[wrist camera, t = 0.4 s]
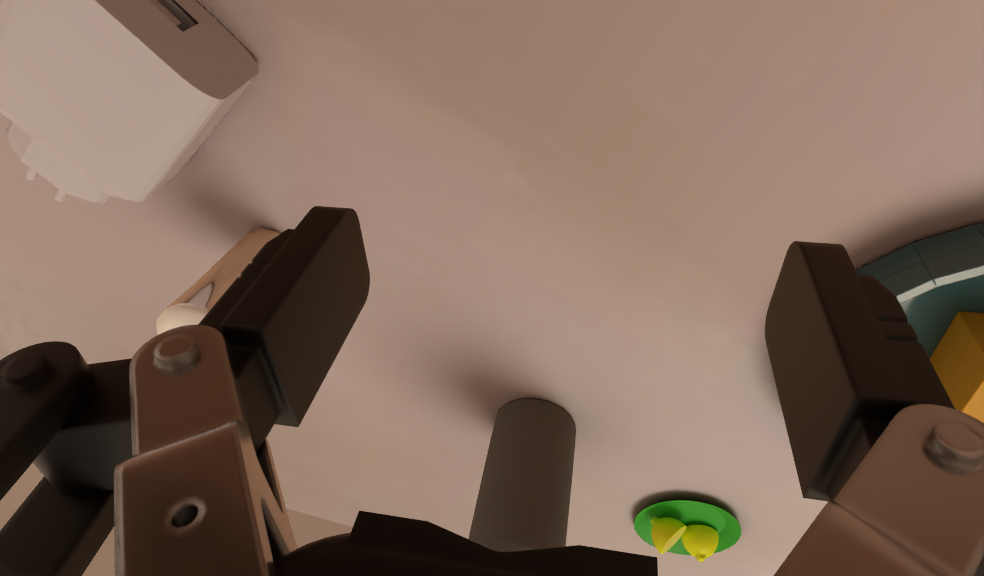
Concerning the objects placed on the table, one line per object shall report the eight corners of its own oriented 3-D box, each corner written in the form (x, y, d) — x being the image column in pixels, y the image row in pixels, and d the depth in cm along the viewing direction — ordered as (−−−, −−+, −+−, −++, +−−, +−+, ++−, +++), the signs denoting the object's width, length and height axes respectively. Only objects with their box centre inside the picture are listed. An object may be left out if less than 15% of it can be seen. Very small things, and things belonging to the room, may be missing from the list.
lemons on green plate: (625, 536, 51) (625, 569, 49) (645, 484, 46) (645, 518, 43) (723, 555, 50) (726, 589, 48) (754, 504, 45) (760, 540, 42)
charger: (-2, 109, 34) (92, -100, 26) (143, 220, 38) (266, 66, 29) (-77, 147, 30) (5, -81, 22) (91, 266, 34) (215, 106, 26)
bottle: (593, 432, 43) (577, 666, 31) (533, 457, 46) (499, 678, 35) (537, 386, 41) (499, 618, 29) (479, 416, 44) (424, 636, 33)
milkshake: (320, 288, 38) (243, 411, 31) (240, 268, 39) (144, 385, 31) (318, 231, 35) (232, 352, 28) (231, 210, 36) (123, 324, 28)
